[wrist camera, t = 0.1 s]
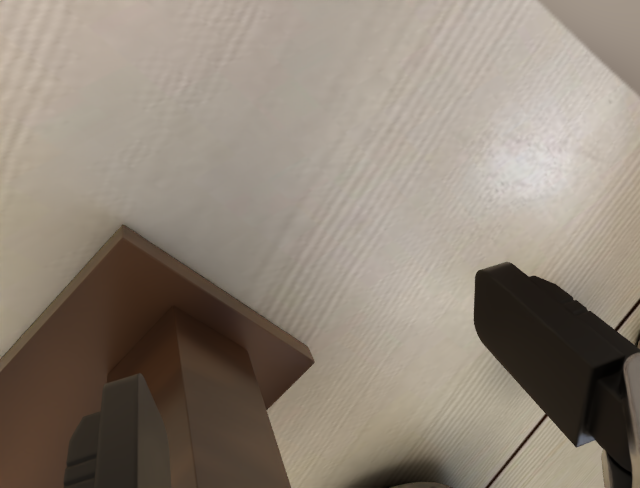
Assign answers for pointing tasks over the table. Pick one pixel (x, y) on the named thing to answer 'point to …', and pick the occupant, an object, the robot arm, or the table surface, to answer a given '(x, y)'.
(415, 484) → the bowl
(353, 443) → the table surface
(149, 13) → the table surface
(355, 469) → the table surface
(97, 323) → the headphone stand
